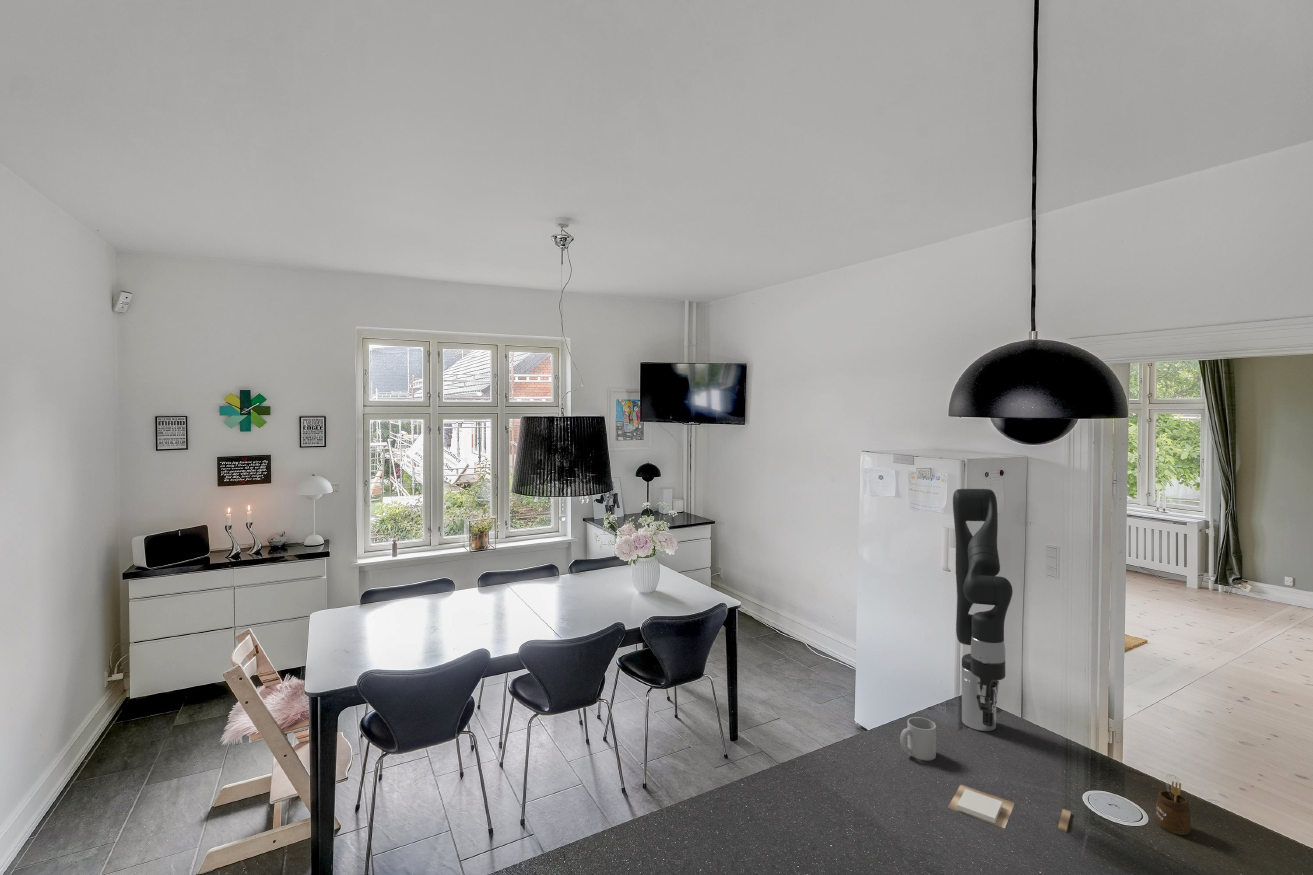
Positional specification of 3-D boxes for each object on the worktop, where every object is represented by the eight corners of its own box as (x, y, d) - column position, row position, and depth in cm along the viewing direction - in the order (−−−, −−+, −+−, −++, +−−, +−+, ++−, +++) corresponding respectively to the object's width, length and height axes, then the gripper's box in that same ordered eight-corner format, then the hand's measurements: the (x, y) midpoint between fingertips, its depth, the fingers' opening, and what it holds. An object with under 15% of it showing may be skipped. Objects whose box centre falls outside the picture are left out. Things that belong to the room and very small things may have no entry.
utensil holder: (1187, 823, 137) (1187, 771, 137) (1194, 840, 132) (1194, 785, 132) (1153, 815, 140) (1153, 764, 140) (1159, 831, 135) (1159, 778, 135)
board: (960, 786, 153) (960, 784, 153) (1015, 804, 145) (1015, 802, 145) (947, 809, 143) (947, 807, 143) (1004, 830, 136) (1004, 828, 136)
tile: (965, 788, 148) (956, 804, 142) (1002, 801, 143) (995, 818, 137) (965, 794, 148) (956, 810, 142) (1002, 806, 143) (995, 824, 137)
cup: (941, 760, 164) (941, 728, 164) (908, 764, 163) (908, 731, 163) (925, 746, 172) (925, 715, 171) (893, 750, 170) (893, 719, 170)
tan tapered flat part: (1055, 811, 142) (1055, 806, 142) (1078, 818, 140) (1078, 813, 140) (1047, 840, 132) (1047, 834, 132) (1071, 849, 130) (1071, 843, 130)
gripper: (977, 644, 156) (977, 709, 157) (964, 660, 146) (964, 730, 147) (1010, 650, 152) (1010, 718, 152) (999, 668, 141) (999, 740, 142)
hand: (988, 724), depth 149 cm, fingers closed
